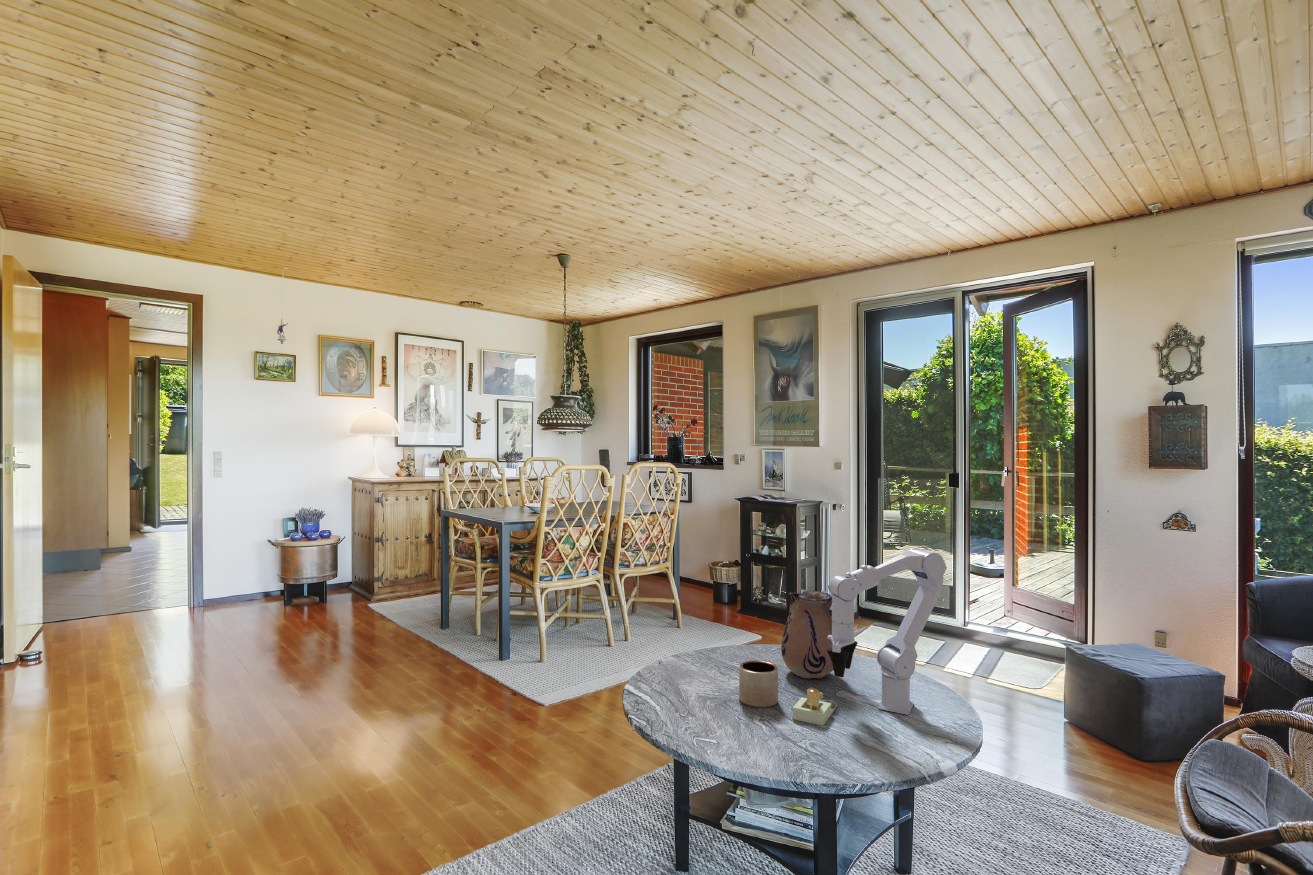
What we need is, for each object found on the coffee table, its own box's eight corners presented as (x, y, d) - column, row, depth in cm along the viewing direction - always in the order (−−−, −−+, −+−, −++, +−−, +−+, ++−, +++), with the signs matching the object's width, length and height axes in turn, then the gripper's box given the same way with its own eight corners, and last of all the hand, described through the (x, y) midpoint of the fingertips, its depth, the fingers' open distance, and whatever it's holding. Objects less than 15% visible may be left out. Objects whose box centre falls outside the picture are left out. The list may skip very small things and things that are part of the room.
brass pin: (808, 713, 170) (808, 687, 170) (819, 715, 169) (819, 689, 169) (805, 717, 167) (805, 691, 167) (817, 720, 166) (817, 693, 166)
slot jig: (807, 700, 179) (807, 688, 179) (838, 707, 174) (838, 694, 175) (792, 718, 166) (792, 705, 166) (824, 726, 162) (824, 712, 162)
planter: (731, 697, 181) (731, 663, 181) (762, 691, 186) (762, 657, 186) (754, 711, 171) (754, 675, 171) (786, 704, 176) (786, 669, 176)
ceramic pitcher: (784, 662, 211) (785, 586, 212) (851, 669, 205) (851, 591, 205) (777, 680, 195) (778, 597, 195) (849, 688, 188) (850, 603, 189)
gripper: (834, 613, 181) (834, 661, 180) (820, 625, 168) (820, 677, 168) (860, 617, 177) (859, 666, 177) (848, 629, 165) (847, 682, 164)
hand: (842, 672), depth 172 cm, fingers open, 7 cm apart
